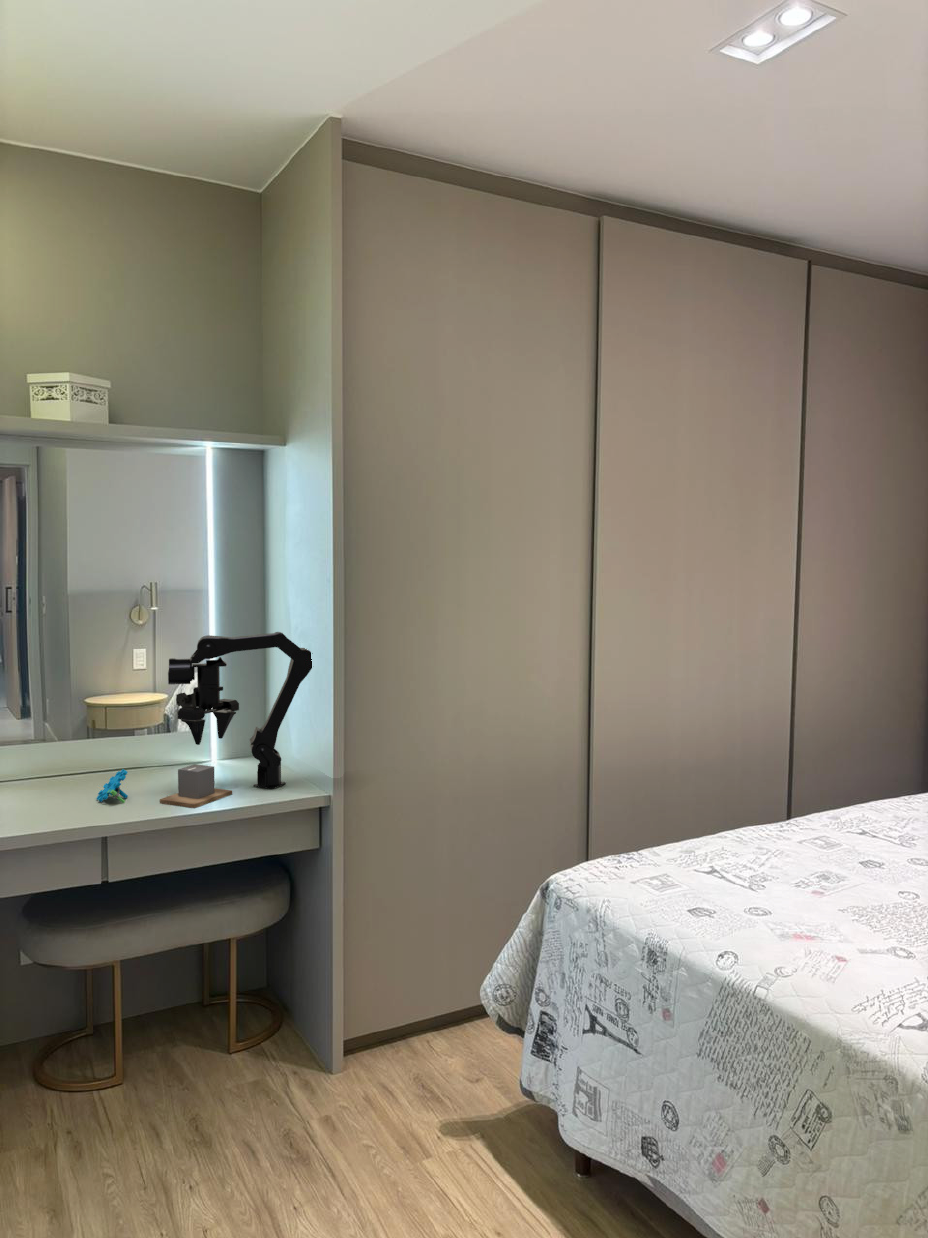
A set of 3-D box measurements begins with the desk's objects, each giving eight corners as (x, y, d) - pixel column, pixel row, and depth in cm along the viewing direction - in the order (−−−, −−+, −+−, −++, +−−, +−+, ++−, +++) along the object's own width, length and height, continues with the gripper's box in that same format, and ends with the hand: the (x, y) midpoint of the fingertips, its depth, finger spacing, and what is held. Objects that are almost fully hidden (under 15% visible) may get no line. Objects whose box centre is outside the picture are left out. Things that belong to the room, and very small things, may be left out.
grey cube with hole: (194, 790, 252) (194, 763, 251) (214, 793, 249) (214, 766, 249) (178, 796, 246) (177, 768, 245) (198, 799, 243) (197, 771, 243)
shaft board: (198, 789, 257) (198, 773, 256) (232, 794, 252) (232, 777, 252) (159, 803, 243) (159, 785, 243) (194, 808, 238) (194, 790, 238)
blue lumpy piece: (95, 789, 250) (123, 762, 250) (112, 803, 252) (140, 776, 253) (93, 806, 239) (122, 777, 240) (111, 820, 241) (140, 792, 242)
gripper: (207, 677, 267) (207, 732, 268) (160, 685, 250) (161, 745, 251) (240, 679, 262) (240, 736, 263) (194, 688, 245) (195, 749, 246)
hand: (209, 741), depth 256 cm, fingers open, 9 cm apart
